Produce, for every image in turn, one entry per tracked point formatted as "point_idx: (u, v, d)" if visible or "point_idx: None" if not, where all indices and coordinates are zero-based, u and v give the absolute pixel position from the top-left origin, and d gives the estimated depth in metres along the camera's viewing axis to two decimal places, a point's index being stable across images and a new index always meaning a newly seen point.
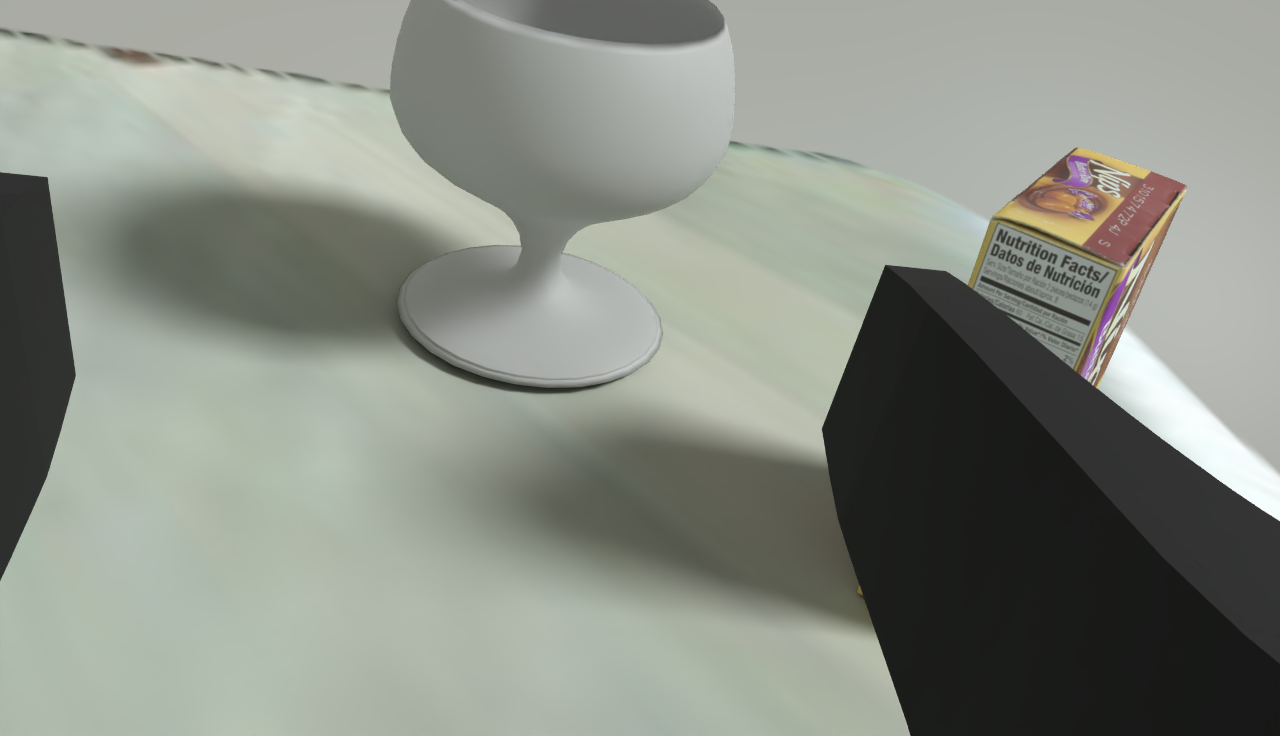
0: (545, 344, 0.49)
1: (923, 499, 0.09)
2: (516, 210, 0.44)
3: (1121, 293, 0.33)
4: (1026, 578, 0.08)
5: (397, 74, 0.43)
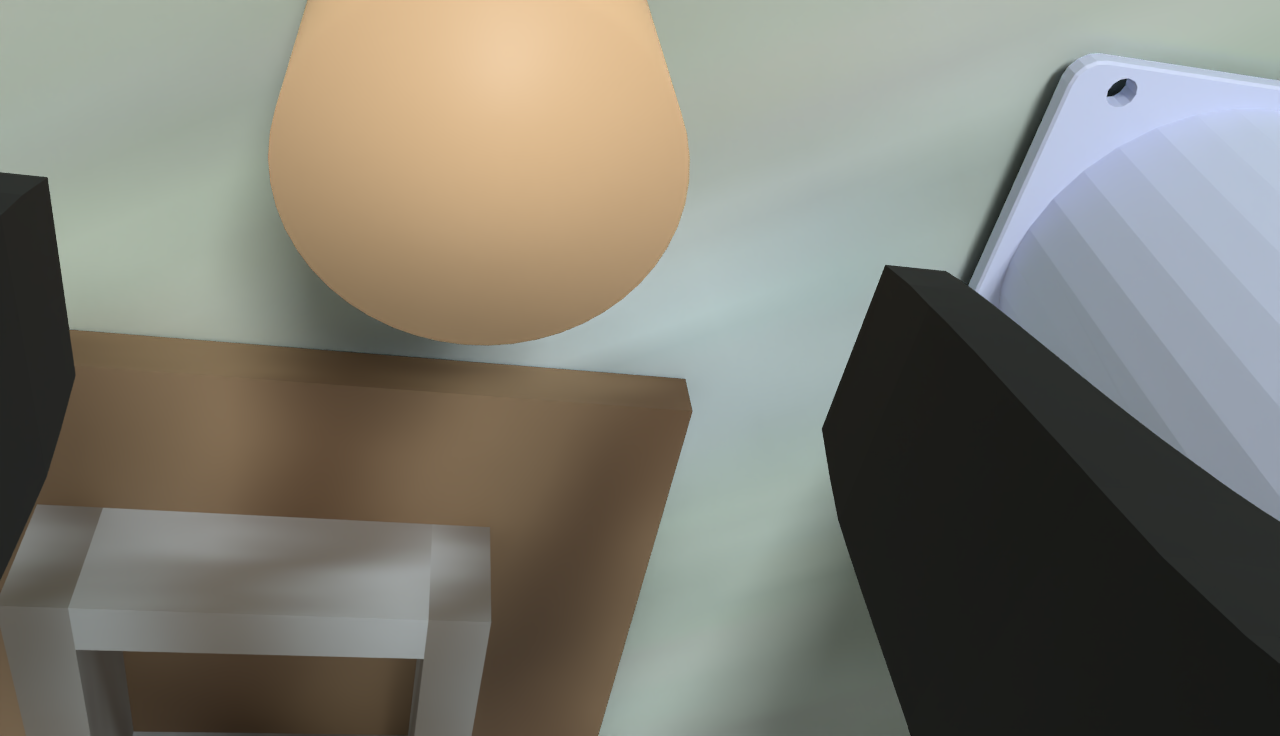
0: None
1: (923, 499, 0.09)
2: None
3: None
4: (1026, 578, 0.08)
5: None
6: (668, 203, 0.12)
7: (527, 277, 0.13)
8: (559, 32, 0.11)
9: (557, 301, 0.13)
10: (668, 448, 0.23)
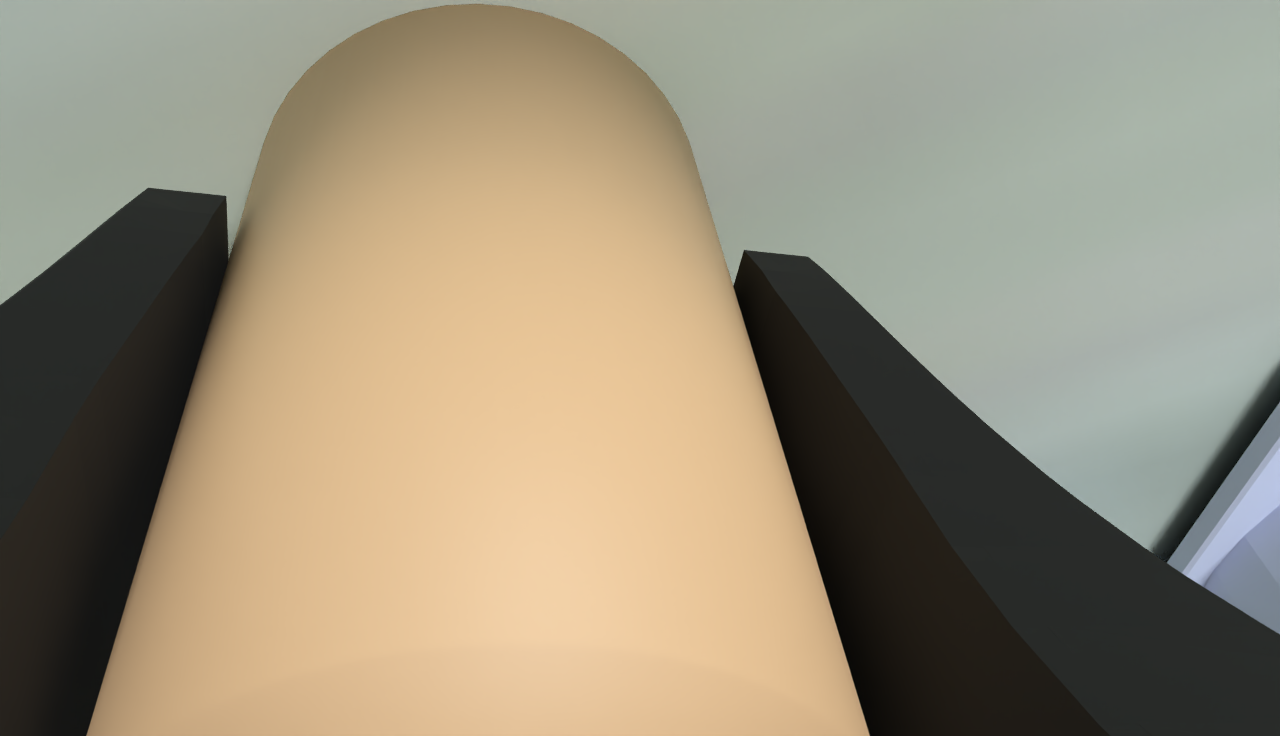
0: None
1: None
2: None
3: None
4: (848, 570, 0.08)
5: None
6: None
7: None
8: (653, 711, 0.05)
9: None
10: None
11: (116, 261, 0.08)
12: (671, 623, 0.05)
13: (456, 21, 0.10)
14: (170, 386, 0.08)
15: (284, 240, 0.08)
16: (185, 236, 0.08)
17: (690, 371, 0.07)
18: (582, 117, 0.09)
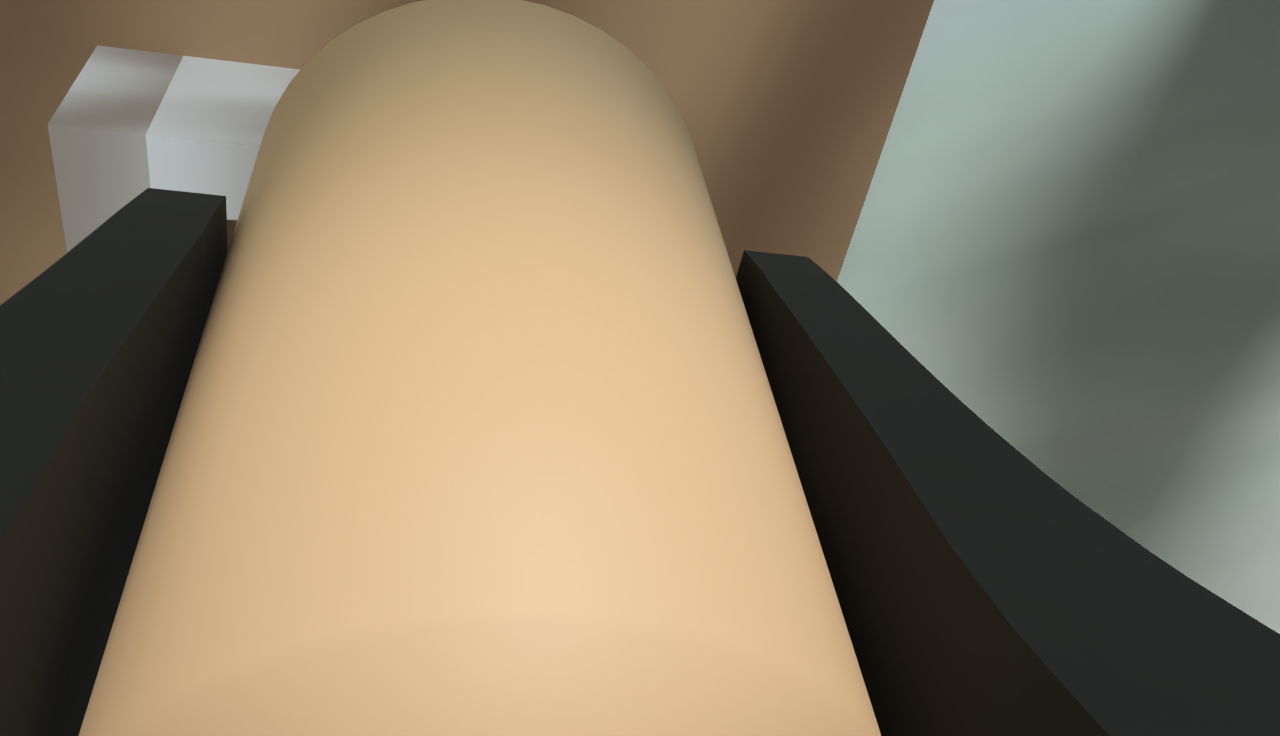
0: None
1: None
2: None
3: None
4: (848, 570, 0.08)
5: None
6: None
7: None
8: (657, 688, 0.05)
9: None
10: None
11: (116, 261, 0.08)
12: (680, 601, 0.05)
13: (458, 11, 0.10)
14: (170, 386, 0.08)
15: (284, 223, 0.08)
16: (185, 236, 0.08)
17: (696, 354, 0.07)
18: (584, 105, 0.09)
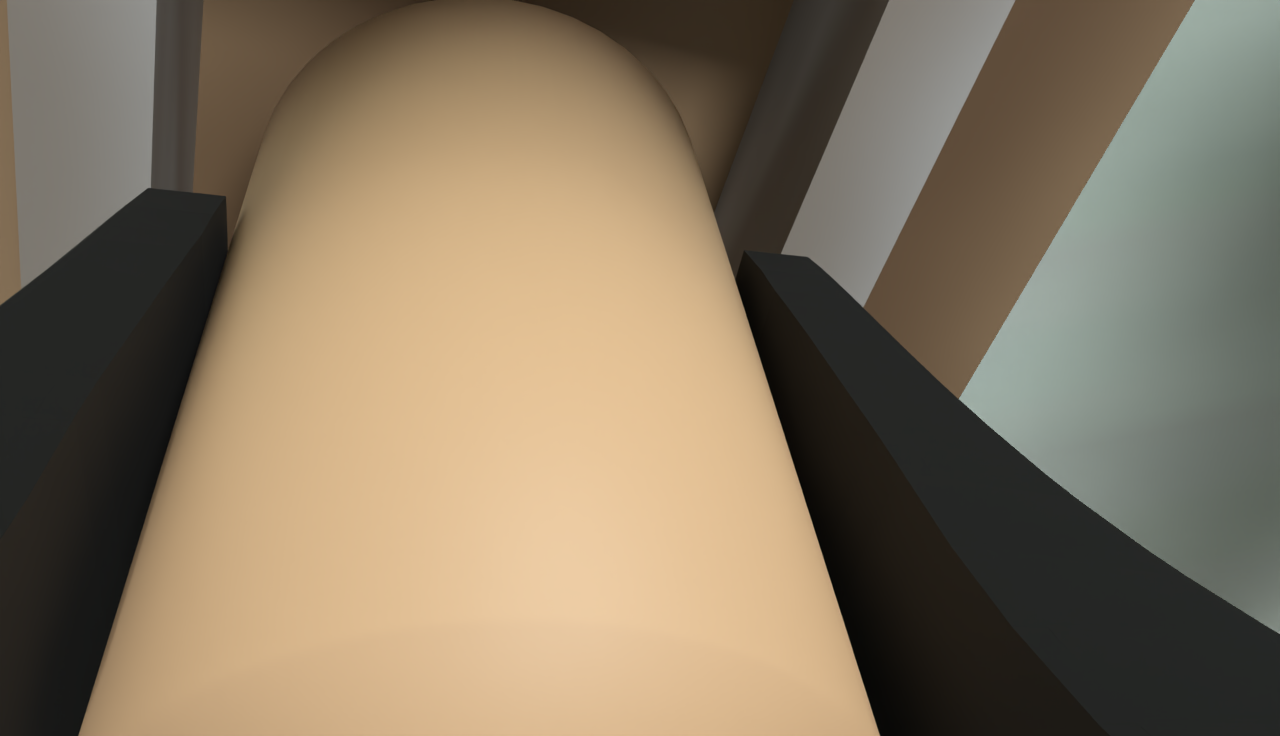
0: None
1: None
2: None
3: None
4: (847, 570, 0.08)
5: None
6: None
7: None
8: (657, 691, 0.05)
9: None
10: None
11: (116, 261, 0.08)
12: (678, 601, 0.05)
13: (457, 13, 0.10)
14: (170, 386, 0.08)
15: (284, 226, 0.08)
16: (185, 236, 0.08)
17: (696, 356, 0.07)
18: (583, 107, 0.09)
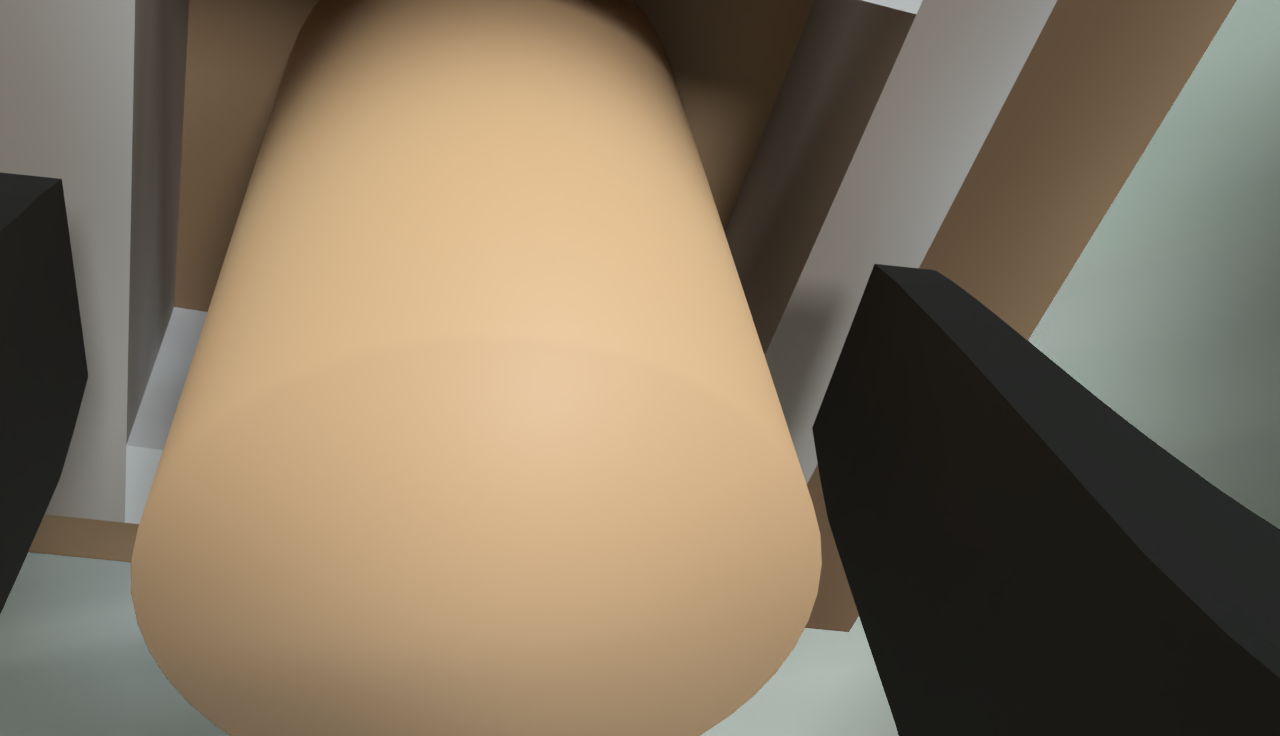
0: None
1: (912, 498, 0.09)
2: None
3: None
4: (1012, 577, 0.08)
5: None
6: (782, 621, 0.08)
7: (556, 717, 0.08)
8: (620, 411, 0.07)
9: None
10: None
11: None
12: (634, 337, 0.06)
13: None
14: None
15: (315, 101, 0.09)
16: None
17: (660, 194, 0.08)
18: (570, 14, 0.10)
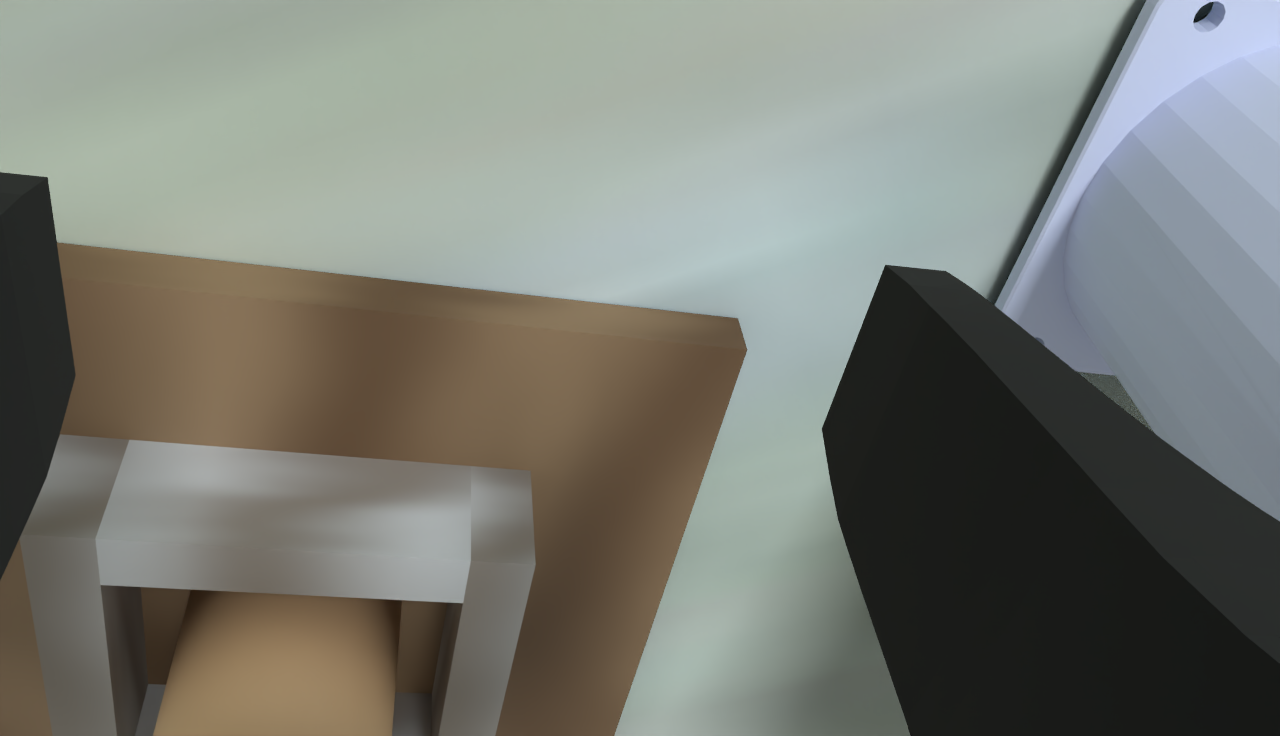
0: None
1: (925, 499, 0.09)
2: None
3: None
4: (1026, 578, 0.08)
5: None
6: None
7: None
8: None
9: None
10: (719, 389, 0.22)
11: None
12: None
13: None
14: None
15: (184, 678, 0.21)
16: None
17: None
18: (307, 603, 0.22)
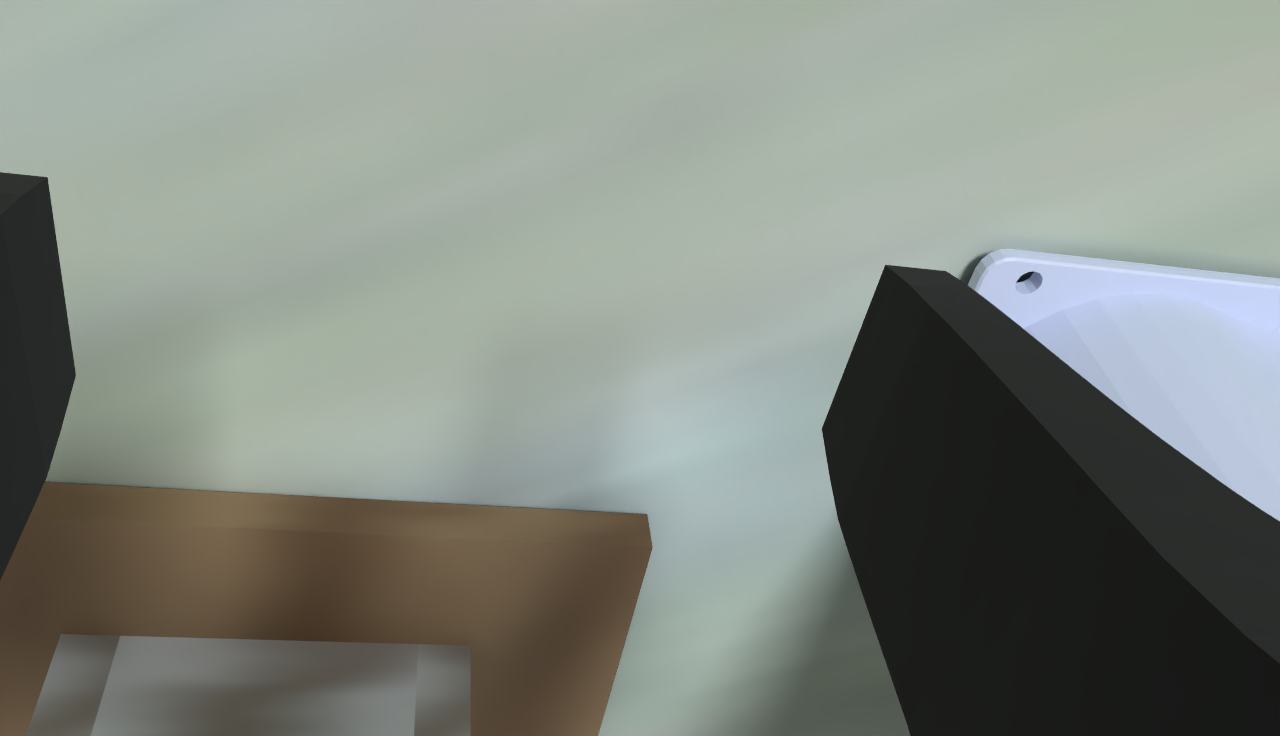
0: None
1: (923, 499, 0.09)
2: None
3: None
4: (1026, 578, 0.08)
5: None
6: None
7: None
8: None
9: None
10: (631, 578, 0.26)
11: None
12: None
13: None
14: None
15: None
16: None
17: None
18: None
